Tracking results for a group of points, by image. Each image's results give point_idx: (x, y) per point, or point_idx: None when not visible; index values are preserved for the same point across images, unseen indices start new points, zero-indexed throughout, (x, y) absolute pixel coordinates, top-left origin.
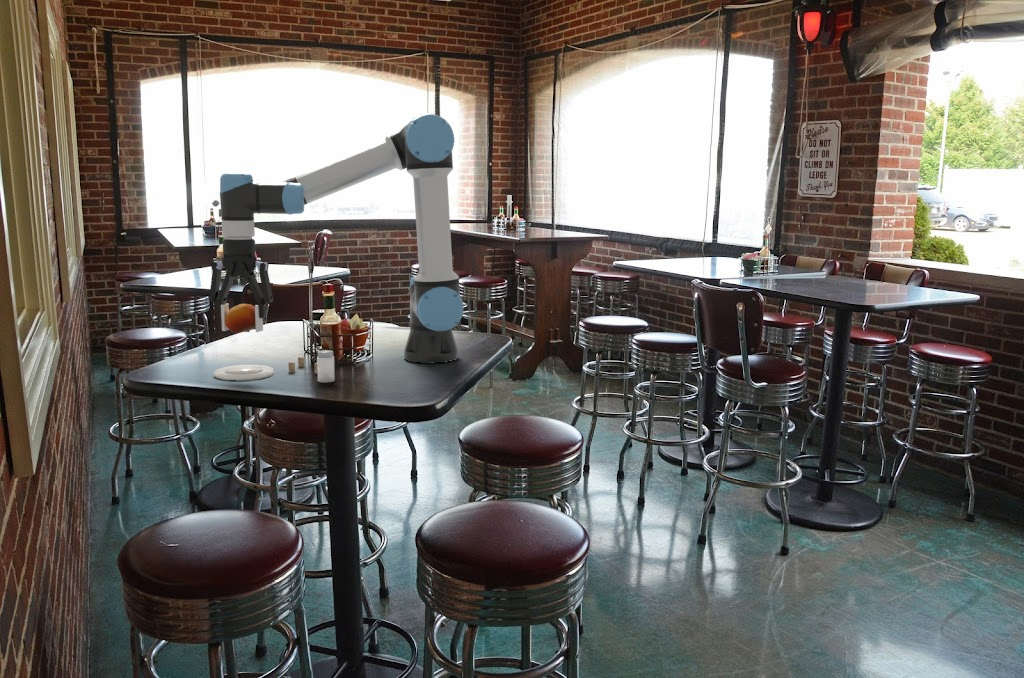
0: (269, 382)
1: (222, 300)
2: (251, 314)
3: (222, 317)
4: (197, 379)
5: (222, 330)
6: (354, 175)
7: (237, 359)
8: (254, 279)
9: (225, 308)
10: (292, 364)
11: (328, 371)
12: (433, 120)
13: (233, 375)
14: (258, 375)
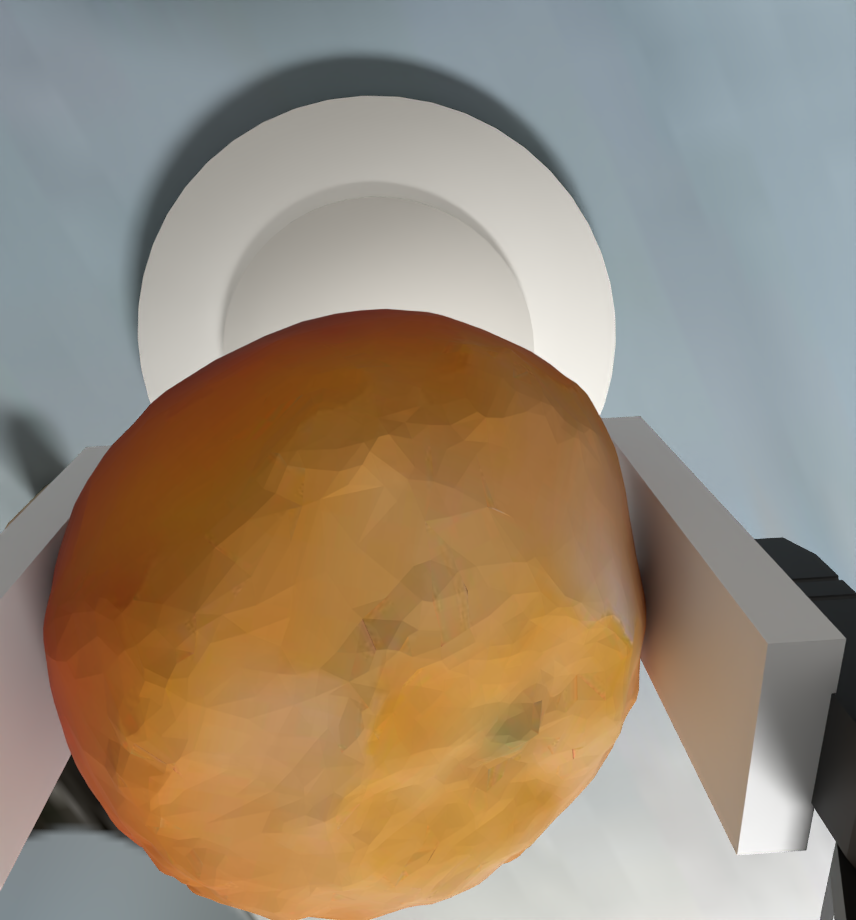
0: (17, 107)
1: None
2: (70, 538)
3: (695, 497)
4: (679, 84)
5: (634, 417)
6: None
7: (648, 768)
8: None
9: (718, 656)
10: (16, 515)
11: None
12: None
13: (373, 146)
14: (168, 212)
